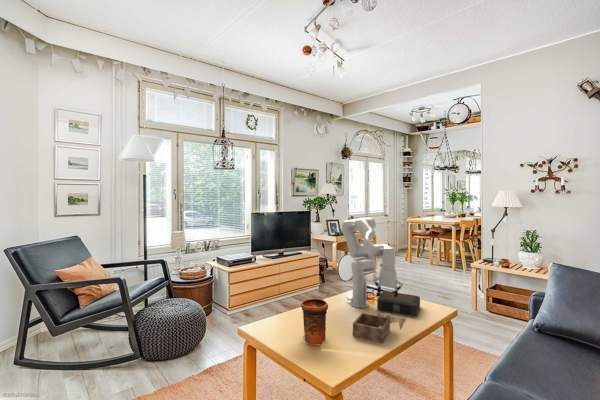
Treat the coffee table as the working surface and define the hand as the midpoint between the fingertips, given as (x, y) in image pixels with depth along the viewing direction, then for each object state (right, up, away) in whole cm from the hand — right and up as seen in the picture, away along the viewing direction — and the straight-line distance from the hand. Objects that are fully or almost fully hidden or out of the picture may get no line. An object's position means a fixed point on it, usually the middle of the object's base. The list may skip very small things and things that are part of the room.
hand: (387, 295), depth 184 cm
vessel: (-45, -17, -22) cm, 53 cm away
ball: (-8, -14, -15) cm, 22 cm away
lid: (0, -17, 0) cm, 17 cm away
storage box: (-13, -17, -17) cm, 27 cm away
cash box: (+14, -16, +21) cm, 30 cm away
